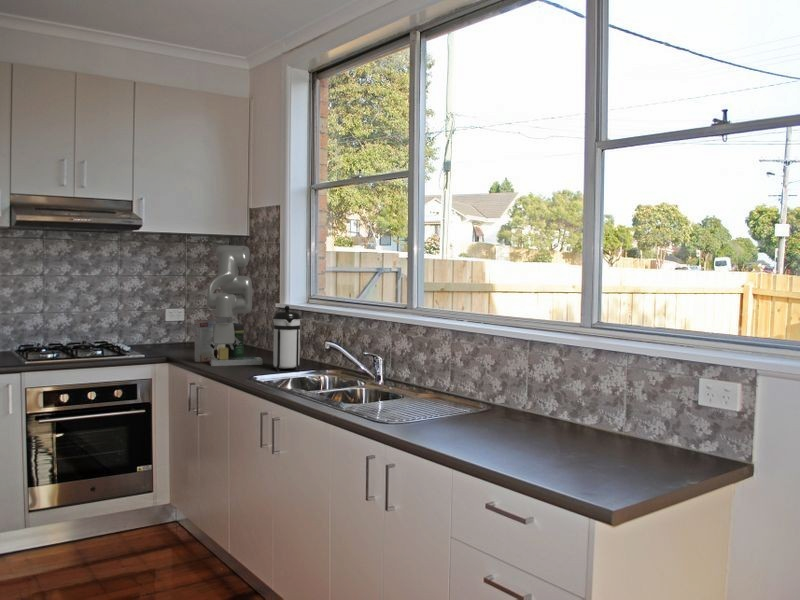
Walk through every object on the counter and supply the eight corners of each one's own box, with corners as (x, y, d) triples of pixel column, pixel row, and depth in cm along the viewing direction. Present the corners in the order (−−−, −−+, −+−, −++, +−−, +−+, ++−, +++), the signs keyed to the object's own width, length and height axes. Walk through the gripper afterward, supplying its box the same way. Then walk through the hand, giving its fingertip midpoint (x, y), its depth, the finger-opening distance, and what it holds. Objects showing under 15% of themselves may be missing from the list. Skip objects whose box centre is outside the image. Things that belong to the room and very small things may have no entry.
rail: (209, 364, 349) (209, 358, 349) (259, 363, 357) (259, 356, 357) (211, 366, 342) (211, 360, 341) (262, 365, 350) (262, 358, 350)
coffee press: (310, 369, 341) (311, 305, 340) (288, 373, 327) (289, 306, 326) (281, 365, 350) (282, 304, 349) (259, 369, 336) (260, 305, 335)
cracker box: (218, 359, 367) (219, 318, 366) (225, 361, 363) (225, 319, 362) (193, 362, 357) (194, 319, 356) (199, 363, 353) (200, 320, 352)
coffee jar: (246, 359, 369) (246, 323, 368) (232, 361, 364) (233, 324, 363) (236, 357, 376) (236, 322, 375) (222, 359, 370) (223, 322, 370)
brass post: (218, 363, 349) (218, 347, 348) (227, 363, 350) (227, 347, 350) (219, 365, 345) (219, 348, 344) (228, 364, 346) (228, 348, 346)
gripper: (241, 319, 353) (240, 356, 354) (204, 320, 347) (204, 357, 348) (243, 321, 346) (242, 358, 347) (206, 321, 340) (205, 359, 341)
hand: (223, 357), depth 347 cm, fingers open, 6 cm apart
